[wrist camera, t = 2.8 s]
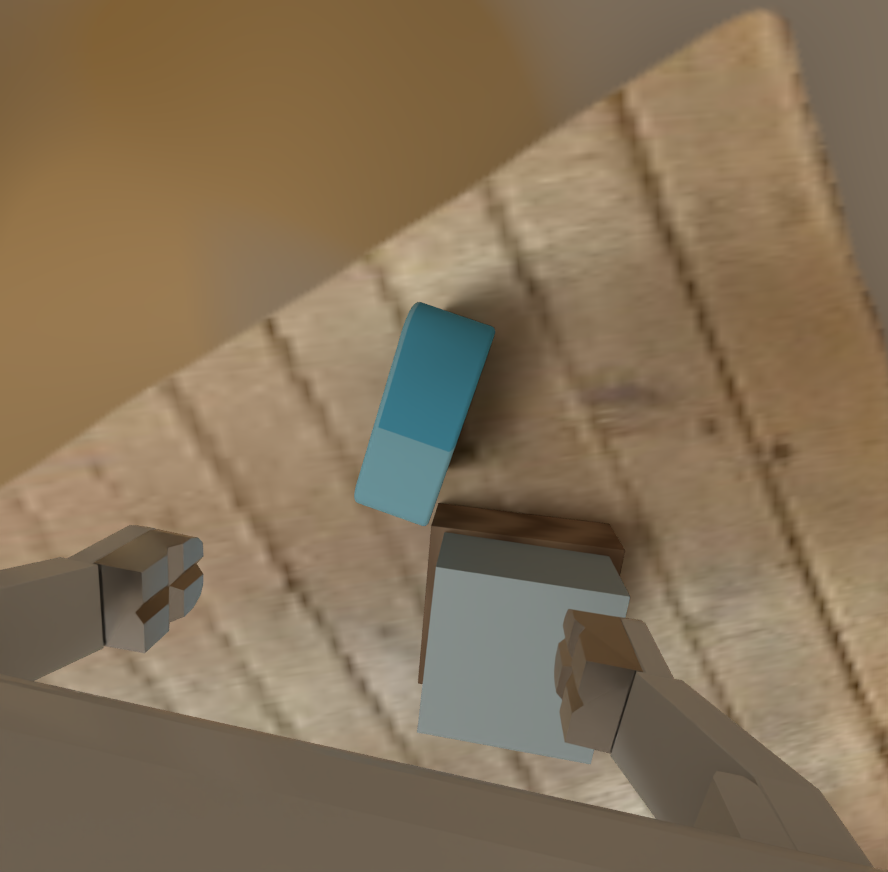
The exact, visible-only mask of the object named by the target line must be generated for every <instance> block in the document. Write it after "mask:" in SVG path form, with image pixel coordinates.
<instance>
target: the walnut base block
mask: <svg viewBox="0 0 888 872" xmlns="http://www.w3.org/2000/svg"><path fill="white" fill-rule="evenodd" d="M444 532H447V533H454V534H461V535H467V536H474V537H481V538H488V539H495V540H501V541H508V542H515V543H522V544H529V545H535V546H542V547H549V548H556V549H563V550H569V551H576V552H583V553H590V554H597V555H603V556H609V557H610V559H611V561H612V563H613V565H614V566H615V568H616V570H617V572H618V574H619V576H620V573H621V568H622V563H623V558H624V553H625V549H624V548H623V546H622V545H621V543H620V541H619V540H618V538H617V536H616V535H615V533H614V531H613V530H612V528H611V526H610V525H609V524H605V523H597V522H589V521H581V520H572V519H564V518H556V517H548V516H539V515H531V514H523V513H515V512H507V511H498V510H490V509H482V508H474V507H465V506H457V505H449V504H441V503H438V506H437V510H436V513H435V516H434V519H433V522H432V525H431V536H430V548H429V559H428V571H427V583H426V595H425V607H424V618H423V630H422V642H421V654H420V666H419V678H418V683H419V684H423V677H424V668H425V659H426V650H427V641H428V633H429V624H430V615H431V606H432V597H433V589H434V580H435V571H436V565H437V561H438V556H439V552H440V548H441V544H442V540H443V536H444Z"/></svg>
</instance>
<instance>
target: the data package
mask: <svg viewBox="0 0 888 872" xmlns="http://www.w3.org/2000/svg"><path fill="white" fill-rule="evenodd" d="M494 335H495V329H494V328H493V327H492V326H489V325H486V324H483V323H480V322H477V321H474V320H471V319H468V318H466V317H463V316H460V315H457V314H454V313H451V312H448V311H445V310H442V309H439V308H436V307H433V306H430V305H427V304H425V303H422V302H417V303H415V304H414V305H413V307H412V308H411V310H410V311H409V314H408V316H407V318H406V321H405V323H404V326H403V329H402V332H401V336H400V339H399V342H398V346H397V349H396V353H395V356H394V359H393V363H392V366H391V369H390V373H389V376H388V380H387V383H386V386H385V390H384V393H383V397H382V400H381V403H380V407H379V410H378V413H377V417H376V420H375V424H374V427H373V430H372V434H371V437H370V440H369V444H368V447H367V451H366V454H365V457H364V461H363V464H362V467H361V471H360V474H359V478H358V481H357V484H356V488H355V495H354V497H355V501H356V502H357V503H360V504H362V505H365V506H368V507H371V508H374V509H376V510H379V511H382V512H385V513H388V514H391V515H393V516H396V517H399V518H402V519H405V520H407V521H410V522H413V523H416V524H419V525H422V526H426V525H427V524H428V523H429V520H430V517H431V515H432V512H433V509H434V506H435V503H436V500H437V497H438V495H439V492H440V489H441V486H442V483H443V480H444V478H445V475H446V472H447V469H448V466H449V463H450V460H451V458H452V455H453V452H454V449H455V446H456V443H457V440H458V438H459V435H460V432H461V429H462V426H463V423H464V421H465V418H466V415H467V412H468V409H469V406H470V403H471V401H472V398H473V395H474V392H475V389H476V386H477V384H478V381H479V378H480V375H481V372H482V369H483V366H484V364H485V361H486V358H487V355H488V352H489V349H490V346H491V344H492V341H493V338H494Z"/></svg>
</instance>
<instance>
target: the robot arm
mask: <svg viewBox="0 0 888 872" xmlns="http://www.w3.org/2000/svg"><path fill="white" fill-rule="evenodd" d="M202 557H203V543H202V541H201V540H200V539H199V538H197V537H193V536H188V535H183V534H179V533H174V532H169V531H164V530H160V529H155V528H150V527H145V526H139V525H129V526H127V527H125V528H123V529H122V530H120V531H118V532H116V533H114V534H112V535H110V536H108V537H107V538H105V539H103V540H101V541H99V542H97V543H95V544H93V545H92V546H90V547H88V548H86V549H84V550H82V551H80V552H78V553H77V554H75V555H73V556H71V557H69V558H61V557H59V558H54V559H50V560H45V561H41V562H36V563H31V564H27V565H22V566H17V567H13V568H8V569H4V570H0V872H888V871H887V870H883V869H878V868H874V867H873V866H872V864H871V863H870V861H869V860H868V859H867V857H866V856H865V854H864V853H863V851H862V850H861V849H860V847H859V846H858V844H857V843H856V841H855V840H854V839H853V837H852V836H851V834H850V833H849V831H848V830H847V829H846V827H845V826H844V824H843V823H842V821H841V820H840V819H839V817H838V816H837V814H836V813H835V811H834V810H833V809H832V807H831V806H830V804H829V803H828V801H827V800H826V799H825V797H824V796H823V794H822V793H821V791H820V790H818V789H817V788H816V787H815V786H813V785H812V784H811V783H810V782H808V781H807V780H806V779H805V778H803V777H802V776H801V775H800V774H798V773H797V772H796V771H795V770H793V769H792V768H791V767H790V766H788V765H787V764H786V763H785V762H783V761H782V760H781V759H780V758H778V757H777V756H776V755H775V754H773V753H772V752H771V751H770V750H768V749H767V748H766V747H765V746H763V745H762V744H761V743H760V742H758V741H757V740H756V739H755V738H754V737H752V736H751V735H750V734H749V733H747V732H746V731H745V730H744V729H742V728H741V727H740V726H739V725H737V724H736V723H735V722H734V721H732V720H731V719H730V718H729V717H727V716H726V715H725V714H724V713H722V712H721V711H720V710H719V709H717V708H716V707H715V706H714V705H712V704H711V703H710V702H709V701H707V700H706V699H705V698H704V697H702V696H701V695H700V694H699V693H697V692H696V691H695V690H694V689H692V688H691V687H690V686H689V685H687V684H686V683H685V682H684V681H682V680H677V679H674V677H673V675H672V674H671V672H670V670H669V668H668V666H667V664H666V662H665V660H664V658H663V656H662V654H661V652H660V650H659V649H658V647H657V645H656V643H655V641H654V639H653V637H652V635H651V633H650V631H649V629H648V627H647V625H646V624H645V623H644V622H643V621H642V620H636V619H630V618H623V617H615V616H609V615H603V614H597V613H591V612H585V611H579V610H573V609H568V610H567V612H566V615H565V618H564V622H563V630H564V634H565V639H563V640H562V641H561V642H560V643H558V647H557V652H556V656H555V666H554V682H555V689H556V693H557V694H558V696H559V697H560V698H561V699H562V703H561V707H560V711H559V713H560V719H561V725H562V730H563V736H564V742H565V743H569V744H573V745H577V746H582V747H586V748H590V749H594V750H598V751H602V752H606V753H610V754H611V757H612V758H613V760H614V761H615V763H616V764H617V765H618V767H619V768H620V769H621V771H622V772H623V774H624V775H625V776H626V778H627V779H628V780H629V782H630V783H631V785H632V786H633V787H634V789H635V790H636V792H637V793H638V794H639V796H640V797H641V798H642V800H643V801H644V803H645V804H646V805H647V807H648V808H649V809H650V811H651V812H652V814H653V815H654V816H655V818H656V819H653V818H649V817H644V816H639V815H635V814H630V813H626V812H621V811H617V810H612V809H608V808H603V807H599V806H594V805H589V804H585V803H580V802H575V801H571V800H566V799H562V798H557V797H553V796H548V795H544V794H539V793H535V792H530V791H526V790H521V789H517V788H512V787H508V786H504V785H499V784H495V783H490V782H486V781H481V780H477V779H472V778H468V777H463V776H459V775H454V774H450V773H445V772H441V771H436V770H432V769H427V768H423V767H418V766H414V765H409V764H405V763H400V762H396V761H391V760H387V759H382V758H378V757H373V756H369V755H364V754H360V753H355V752H351V751H346V750H342V749H337V748H333V747H328V746H324V745H319V744H315V743H310V742H306V741H301V740H296V739H292V738H287V737H283V736H278V735H274V734H269V733H265V732H260V731H255V730H251V729H246V728H242V727H237V726H233V725H228V724H224V723H219V722H215V721H210V720H206V719H201V718H197V717H192V716H188V715H183V714H179V713H174V712H170V711H165V710H161V709H156V708H152V707H147V706H143V705H138V704H134V703H129V702H125V701H120V700H116V699H111V698H107V697H102V696H98V695H93V694H89V693H84V692H80V691H75V690H71V689H66V688H62V687H57V686H53V685H48V684H44V683H39V682H35V680H37V679H39V678H41V677H43V676H45V675H48V674H50V673H52V672H54V671H56V670H58V669H60V668H62V667H64V666H67V665H69V664H71V663H73V662H75V661H77V660H79V659H81V658H83V657H86V656H88V655H90V654H92V653H94V652H96V651H98V650H100V649H103V648H104V646H108V647H113V648H119V649H124V650H130V651H135V652H141V653H145V652H147V651H148V650H149V649H150V648H151V647H152V646H153V645H154V644H155V643H156V642H157V641H158V640H160V639H161V638H162V637H163V636H164V635H165V634H166V633H167V632H168V631H169V624H170V622H172V621H174V620H177V619H179V618H182V617H184V616H185V615H186V614H187V613H188V612H189V611H190V610H191V609H192V608H193V607H194V606H195V604H196V602H197V600H198V598H199V597H200V595H201V591H202V587H203V573H202V571H201V570H200V568H199V566H198V565H197V563H198V562H199V561H200V559H201V558H202Z"/></svg>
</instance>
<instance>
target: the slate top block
mask: <svg viewBox="0 0 888 872" xmlns="http://www.w3.org/2000/svg"><path fill="white" fill-rule="evenodd" d="M629 600H630V595H629V594H628V592H627V590H626V588H625V586H624V584H623V582H622V580H621V578H620V576H619V574H618V572H617V570H616V568H615V566H614V565H613V563H612V561H611V559H610V557H609V556H603V555H597V554H590V553H583V552H576V551H569V550H563V549H556V548H549V547H542V546H535V545H529V544H522V543H515V542H508V541H501V540H495V539H488V538H481V537H474V536H467V535H461V534H454V533H447V532H444V536H443V540H442V544H441V548H440V552H439V556H438V561H437V565H436V571H435V580H434V589H433V597H432V606H431V615H430V624H429V633H428V641H427V650H426V659H425V668H424V677H423V686H422V694H421V703H420V712H419V721H418V730H417V732H418V733H424V734H429V735H434V736H440V737H445V738H451V739H456V740H462V741H467V742H472V743H478V744H483V745H489V746H494V747H499V748H505V749H510V750H516V751H521V752H526V753H532V754H537V755H543V756H548V757H554V758H559V759H564V760H570V761H575V762H581V763H586V764H591V761H592V756H593V752H594V749H590V748H586V747H582V746H577V745H573V744H569V743H565V742H564V736H563V730H562V725H561V719H560V713H559V711H560V707H561V703H562V699H561V698H560V697H559V696H558V694H557V693H556V689H555V682H554V666H555V656H556V652H557V647H558V643H560V642H561V641H562V640H563V639H565V634H564V630H563V622H564V618H565V615H566V612H567V610H568V609H573V610H579V611H585V612H591V613H597V614H603V615H609V616H615V617H623V618H625V617H626V612H627V608H628V604H629Z"/></svg>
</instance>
